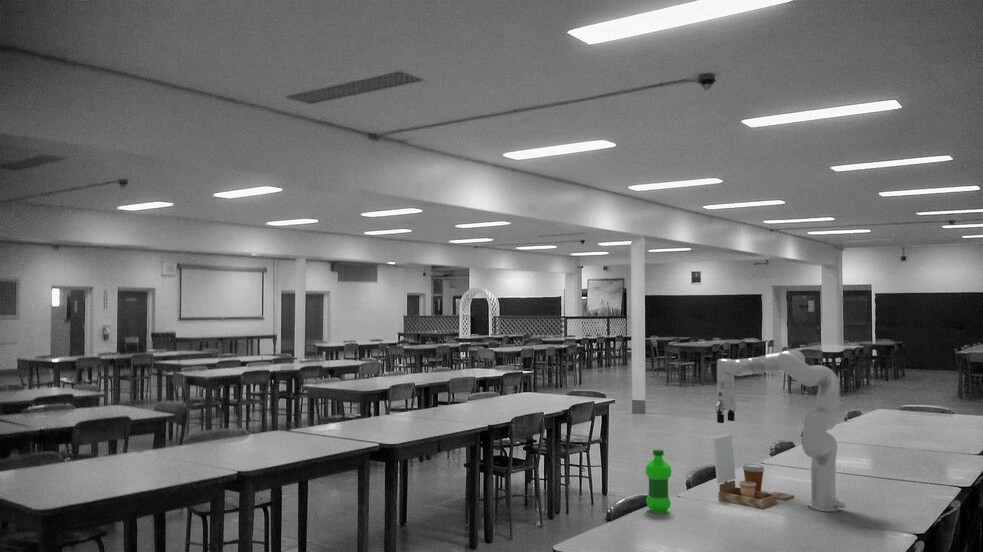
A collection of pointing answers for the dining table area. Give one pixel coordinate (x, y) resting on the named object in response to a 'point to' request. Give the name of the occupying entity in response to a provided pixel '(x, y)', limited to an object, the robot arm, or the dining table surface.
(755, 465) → the disposable coffee cup
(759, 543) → the dining table surface
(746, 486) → the pot
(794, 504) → the dining table surface
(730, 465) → the lid
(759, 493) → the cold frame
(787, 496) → the board
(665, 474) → the plastic bottle
